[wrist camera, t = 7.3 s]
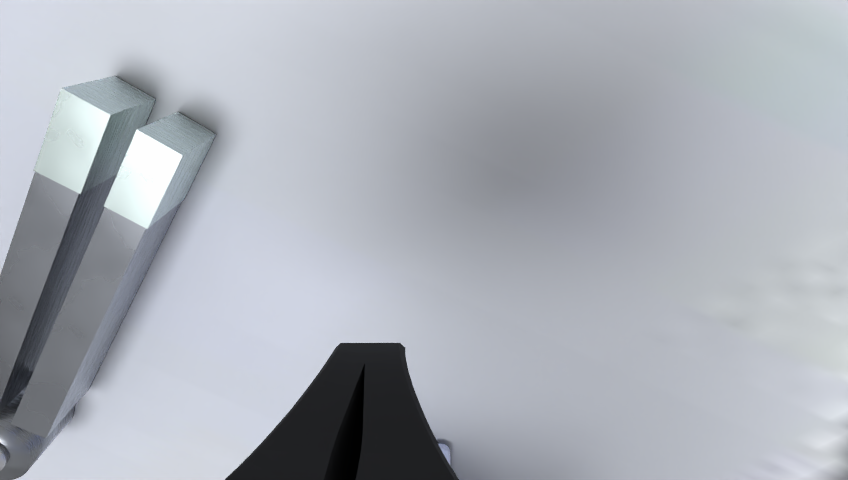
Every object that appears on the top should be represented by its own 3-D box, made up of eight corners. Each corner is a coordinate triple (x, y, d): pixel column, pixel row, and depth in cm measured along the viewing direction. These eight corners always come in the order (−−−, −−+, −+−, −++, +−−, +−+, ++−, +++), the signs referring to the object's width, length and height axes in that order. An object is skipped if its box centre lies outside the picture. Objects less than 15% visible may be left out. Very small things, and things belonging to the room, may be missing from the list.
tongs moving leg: (44, 369, 24) (-5, 417, 21) (10, 355, 23) (-44, 402, 20) (155, 99, 19) (110, 115, 16) (114, 76, 18) (61, 88, 16)
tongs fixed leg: (64, 439, 25) (15, 500, 22) (-7, 410, 24) (-69, 468, 21) (216, 134, 19) (176, 159, 16) (128, 82, 18) (69, 97, 15)
